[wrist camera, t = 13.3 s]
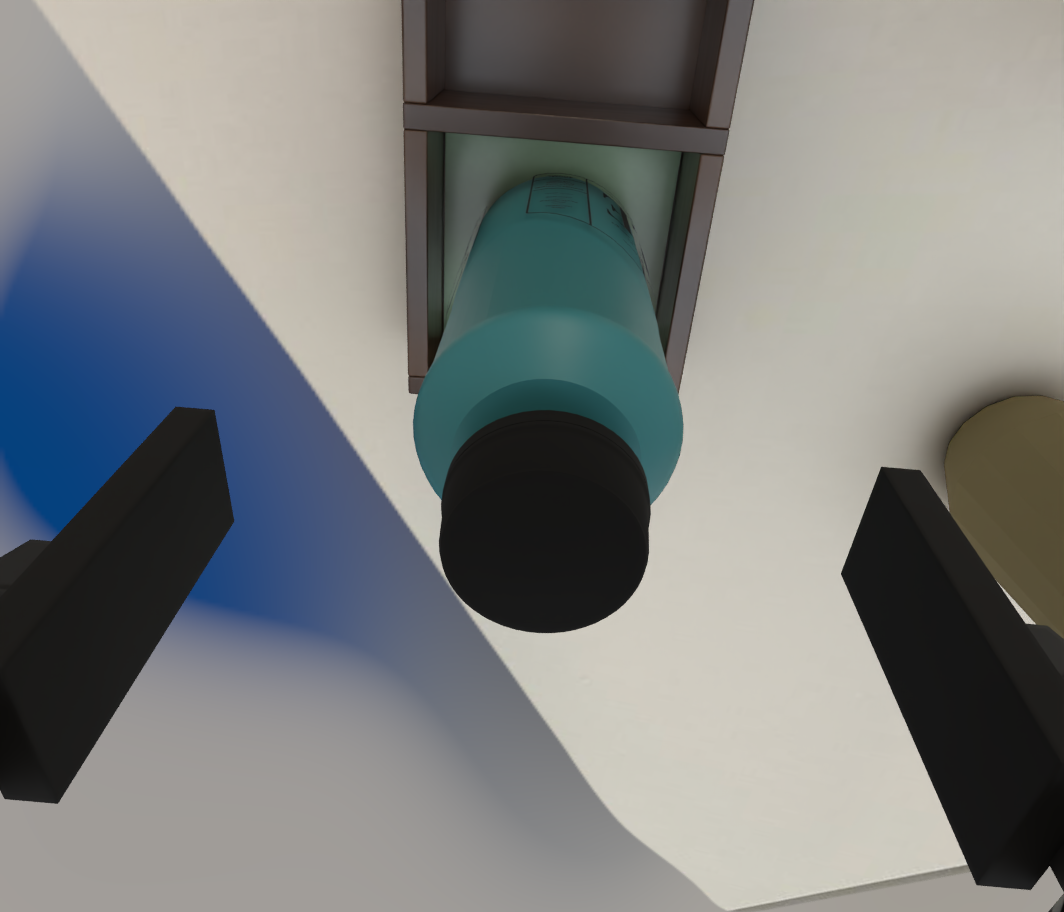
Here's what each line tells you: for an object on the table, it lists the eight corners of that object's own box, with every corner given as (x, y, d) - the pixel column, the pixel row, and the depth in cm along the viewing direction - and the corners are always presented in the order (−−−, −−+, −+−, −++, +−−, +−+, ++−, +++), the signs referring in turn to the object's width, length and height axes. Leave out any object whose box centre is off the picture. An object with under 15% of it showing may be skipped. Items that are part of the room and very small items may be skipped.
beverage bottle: (442, 250, 31) (285, 576, 14) (552, 119, 28) (523, 326, 11) (560, 351, 33) (548, 739, 16) (674, 237, 30) (803, 563, 13)
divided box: (425, -265, 24) (394, -316, 19) (768, -237, 24) (809, -283, 19) (427, 345, 34) (408, 394, 30) (662, 364, 34) (674, 416, 30)
